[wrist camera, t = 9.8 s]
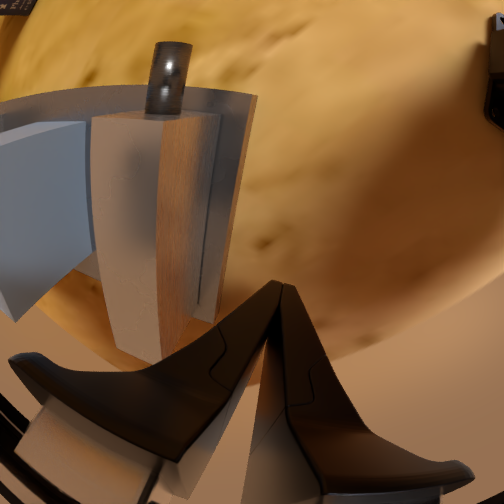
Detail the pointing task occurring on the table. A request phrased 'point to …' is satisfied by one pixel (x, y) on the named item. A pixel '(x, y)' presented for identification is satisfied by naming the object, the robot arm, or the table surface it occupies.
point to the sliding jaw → (152, 208)
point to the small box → (16, 7)
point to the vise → (223, 175)
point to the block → (41, 210)
